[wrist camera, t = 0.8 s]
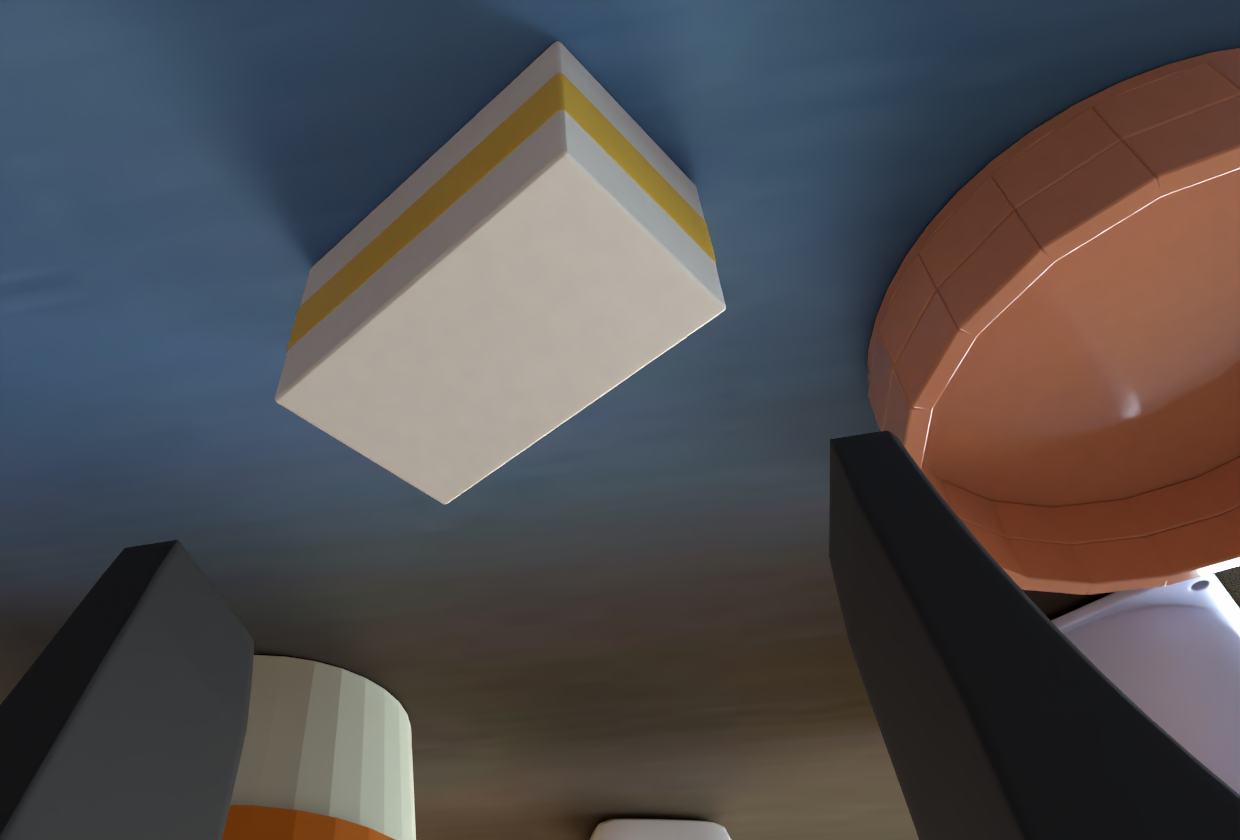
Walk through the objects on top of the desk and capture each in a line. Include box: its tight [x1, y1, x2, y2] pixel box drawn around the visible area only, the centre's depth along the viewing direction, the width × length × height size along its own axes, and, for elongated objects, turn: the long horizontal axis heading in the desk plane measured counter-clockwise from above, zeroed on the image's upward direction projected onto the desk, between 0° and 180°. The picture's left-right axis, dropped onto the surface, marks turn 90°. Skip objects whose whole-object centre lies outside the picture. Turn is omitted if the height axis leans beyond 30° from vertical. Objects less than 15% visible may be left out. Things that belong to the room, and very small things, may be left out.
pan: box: [867, 48, 1240, 595], centre depth 21 cm, size 13×13×3 cm
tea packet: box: [275, 41, 726, 504], centre depth 18 cm, size 4×7×4 cm, turn 131°
